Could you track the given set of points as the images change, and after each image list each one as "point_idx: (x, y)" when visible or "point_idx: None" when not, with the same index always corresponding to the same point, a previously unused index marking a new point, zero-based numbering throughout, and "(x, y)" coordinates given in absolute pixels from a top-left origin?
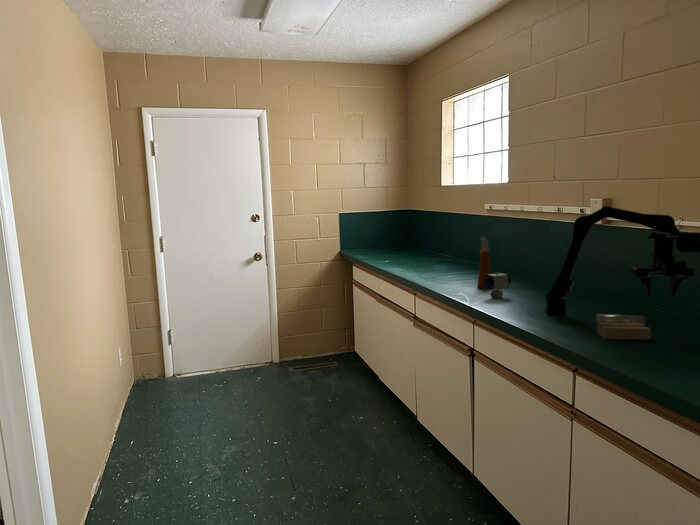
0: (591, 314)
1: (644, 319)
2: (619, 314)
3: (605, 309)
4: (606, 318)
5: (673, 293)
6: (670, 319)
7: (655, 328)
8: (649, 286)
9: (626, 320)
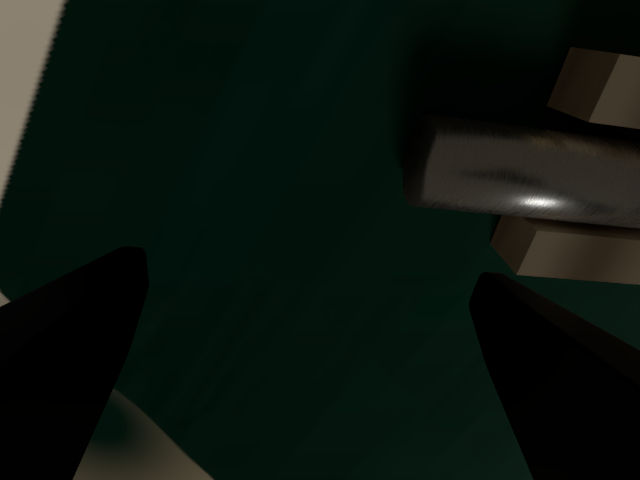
0: None
1: (440, 131)
2: (522, 268)
3: (384, 446)
4: None
5: (112, 262)
6: None
7: (353, 82)
8: (634, 370)
9: (622, 97)
